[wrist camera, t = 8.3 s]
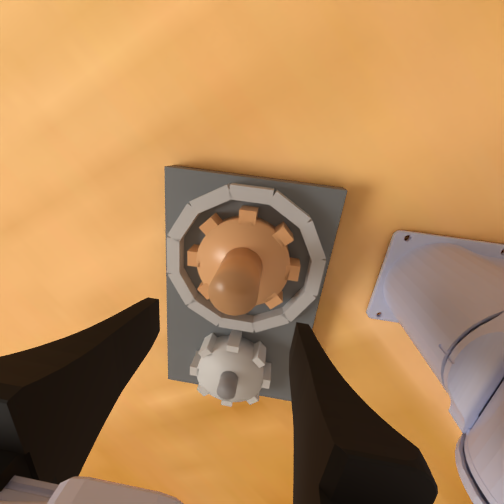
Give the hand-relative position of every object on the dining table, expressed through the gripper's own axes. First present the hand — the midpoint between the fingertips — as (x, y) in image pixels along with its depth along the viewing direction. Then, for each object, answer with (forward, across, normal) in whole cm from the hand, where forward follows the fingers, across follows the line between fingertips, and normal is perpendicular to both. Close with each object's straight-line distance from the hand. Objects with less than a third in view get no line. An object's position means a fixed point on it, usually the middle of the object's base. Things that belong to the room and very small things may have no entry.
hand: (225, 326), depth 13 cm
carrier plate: (+9, 0, +4) cm, 10 cm away
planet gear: (+8, 0, 0) cm, 8 cm away
